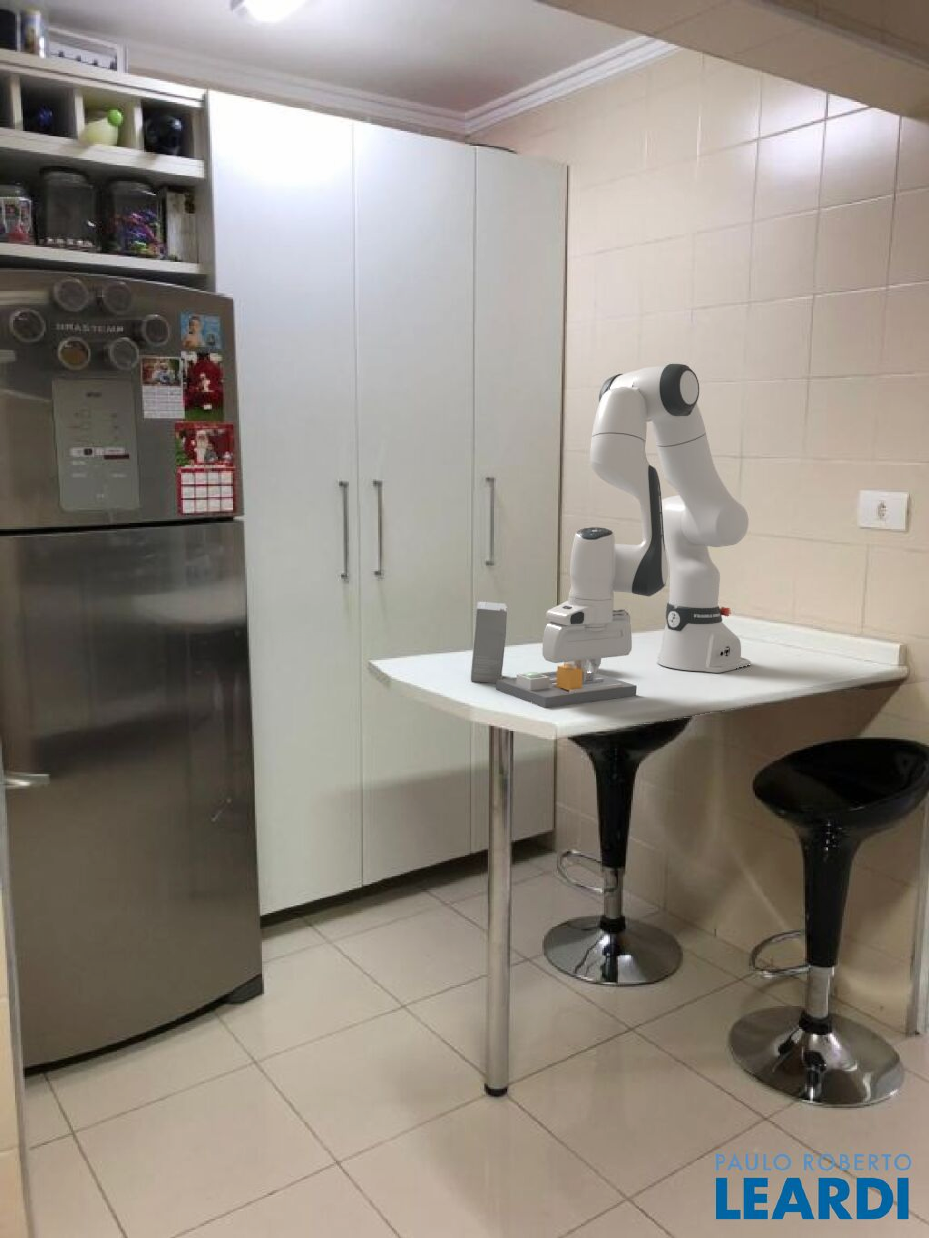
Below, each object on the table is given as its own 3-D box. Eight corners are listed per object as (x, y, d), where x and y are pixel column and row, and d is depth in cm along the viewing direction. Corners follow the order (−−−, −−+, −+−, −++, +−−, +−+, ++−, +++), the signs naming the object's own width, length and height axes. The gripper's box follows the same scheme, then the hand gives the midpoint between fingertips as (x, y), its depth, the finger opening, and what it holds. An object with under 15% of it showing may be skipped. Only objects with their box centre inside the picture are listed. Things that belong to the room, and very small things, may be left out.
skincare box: (471, 673, 215) (473, 600, 212) (504, 674, 214) (507, 602, 212) (470, 682, 206) (472, 606, 204) (504, 683, 206) (507, 608, 204)
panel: (584, 678, 213) (585, 659, 213) (636, 695, 200) (637, 674, 199) (496, 689, 201) (497, 669, 200) (544, 707, 188) (546, 686, 187)
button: (534, 681, 197) (534, 671, 197) (543, 684, 195) (544, 674, 195) (522, 682, 196) (522, 672, 196) (531, 685, 193) (531, 675, 193)
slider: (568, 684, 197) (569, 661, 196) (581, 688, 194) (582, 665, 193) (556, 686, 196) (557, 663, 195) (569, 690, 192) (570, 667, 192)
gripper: (619, 606, 203) (615, 672, 205) (539, 612, 192) (536, 682, 194) (641, 611, 198) (636, 679, 200) (559, 617, 187) (556, 689, 189)
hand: (586, 680), depth 197 cm, fingers closed
